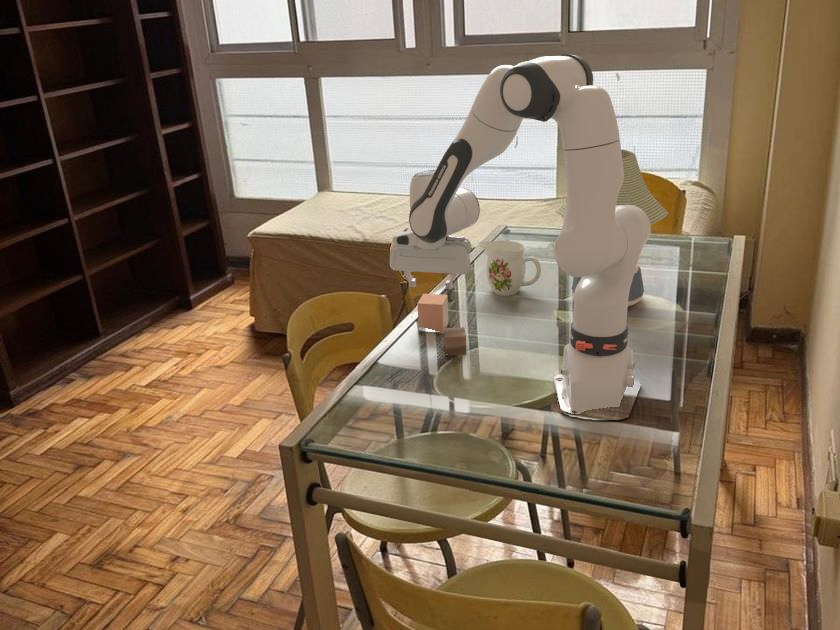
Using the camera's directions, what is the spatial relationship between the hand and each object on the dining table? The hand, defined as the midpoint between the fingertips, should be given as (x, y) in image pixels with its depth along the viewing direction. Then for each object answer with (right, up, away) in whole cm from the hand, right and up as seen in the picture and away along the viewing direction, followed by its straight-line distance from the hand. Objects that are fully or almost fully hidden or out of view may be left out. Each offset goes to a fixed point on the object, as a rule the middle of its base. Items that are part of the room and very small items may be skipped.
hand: (430, 287), depth 203 cm
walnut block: (+6, -16, -8) cm, 19 cm away
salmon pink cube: (+1, -10, +4) cm, 11 cm away
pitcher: (+22, -1, +24) cm, 33 cm away
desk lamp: (+48, -3, +15) cm, 50 cm away
